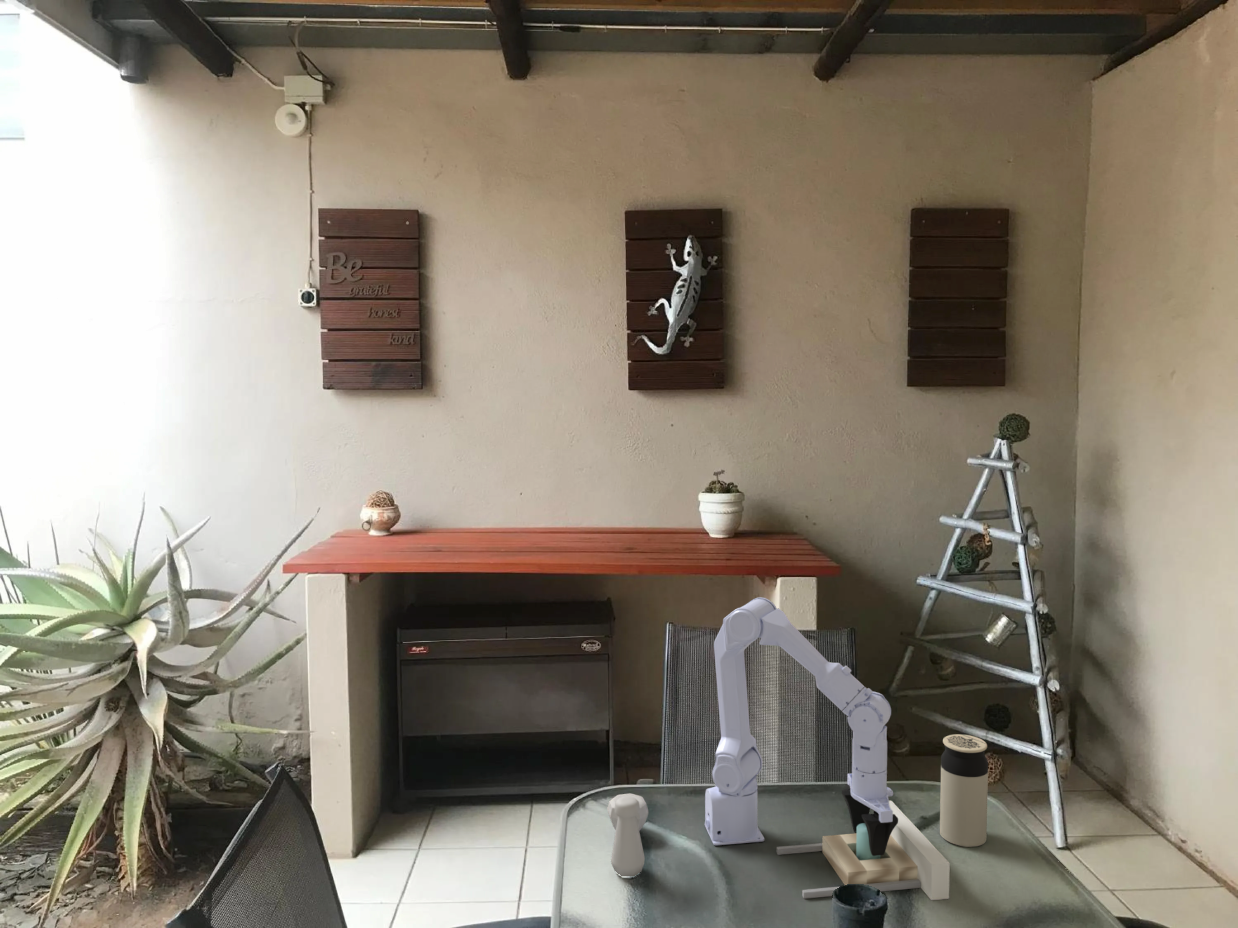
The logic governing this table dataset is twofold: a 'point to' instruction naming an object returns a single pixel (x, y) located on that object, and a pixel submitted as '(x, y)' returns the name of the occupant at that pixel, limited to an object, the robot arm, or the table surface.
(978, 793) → the travel mug
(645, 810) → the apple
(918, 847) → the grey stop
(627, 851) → the salt shaker
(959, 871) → the table surface
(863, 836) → the dowel
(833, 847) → the socket block
